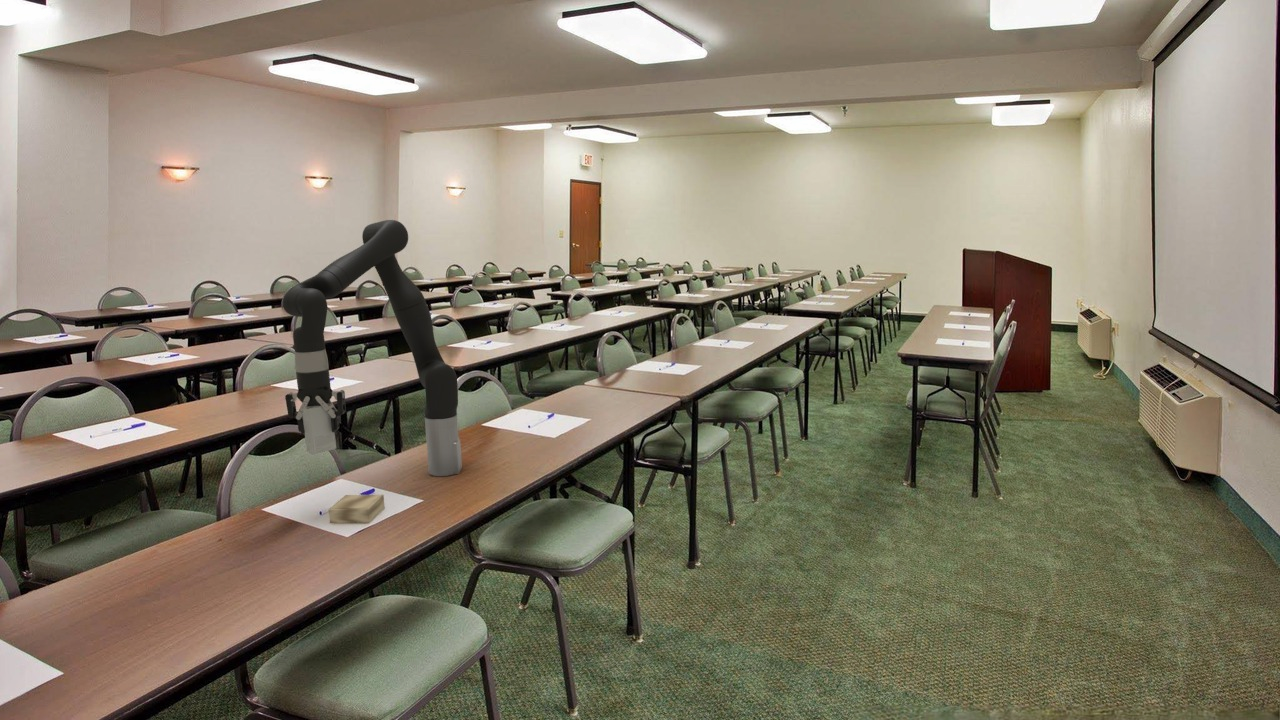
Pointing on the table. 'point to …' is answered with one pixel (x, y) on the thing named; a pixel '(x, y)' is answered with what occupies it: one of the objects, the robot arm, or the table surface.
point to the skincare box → (318, 430)
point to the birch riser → (356, 509)
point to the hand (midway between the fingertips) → (319, 432)
